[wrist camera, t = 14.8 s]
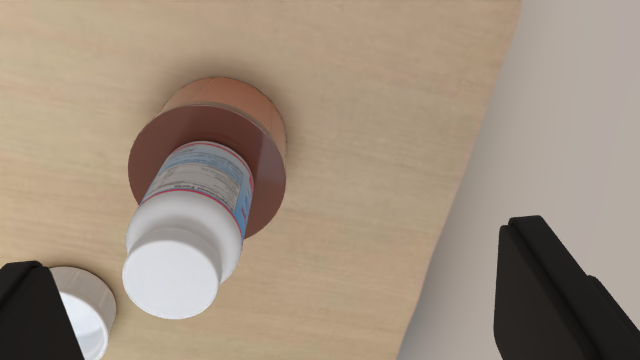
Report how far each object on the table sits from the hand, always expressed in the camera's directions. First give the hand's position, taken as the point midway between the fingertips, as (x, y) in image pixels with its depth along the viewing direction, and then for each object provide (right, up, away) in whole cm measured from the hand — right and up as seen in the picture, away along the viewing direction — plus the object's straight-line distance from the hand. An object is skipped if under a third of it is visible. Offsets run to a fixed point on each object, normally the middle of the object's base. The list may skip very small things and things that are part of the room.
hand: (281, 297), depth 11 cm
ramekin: (-21, -8, +38) cm, 44 cm away
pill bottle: (-7, +3, +25) cm, 26 cm away
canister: (-7, +6, +31) cm, 32 cm away
